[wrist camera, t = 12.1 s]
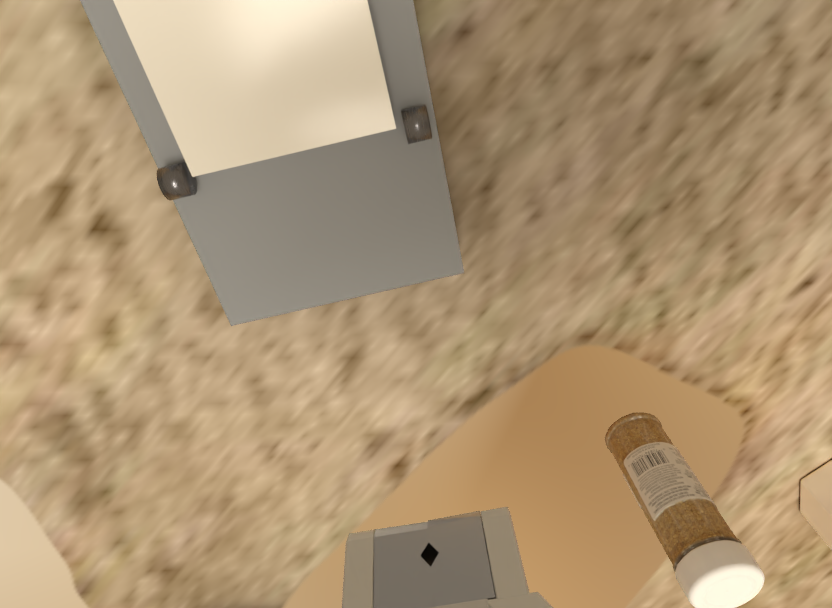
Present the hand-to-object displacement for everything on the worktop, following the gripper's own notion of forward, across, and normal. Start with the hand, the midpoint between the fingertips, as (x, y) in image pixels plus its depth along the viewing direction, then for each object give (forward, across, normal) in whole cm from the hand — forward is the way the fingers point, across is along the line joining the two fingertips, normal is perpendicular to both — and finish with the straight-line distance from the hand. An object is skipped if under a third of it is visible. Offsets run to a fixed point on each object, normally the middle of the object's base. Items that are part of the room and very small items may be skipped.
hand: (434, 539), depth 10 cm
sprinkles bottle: (+25, -14, +25) cm, 38 cm away
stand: (+24, +5, -4) cm, 25 cm away
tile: (+20, +5, -8) cm, 22 cm away
